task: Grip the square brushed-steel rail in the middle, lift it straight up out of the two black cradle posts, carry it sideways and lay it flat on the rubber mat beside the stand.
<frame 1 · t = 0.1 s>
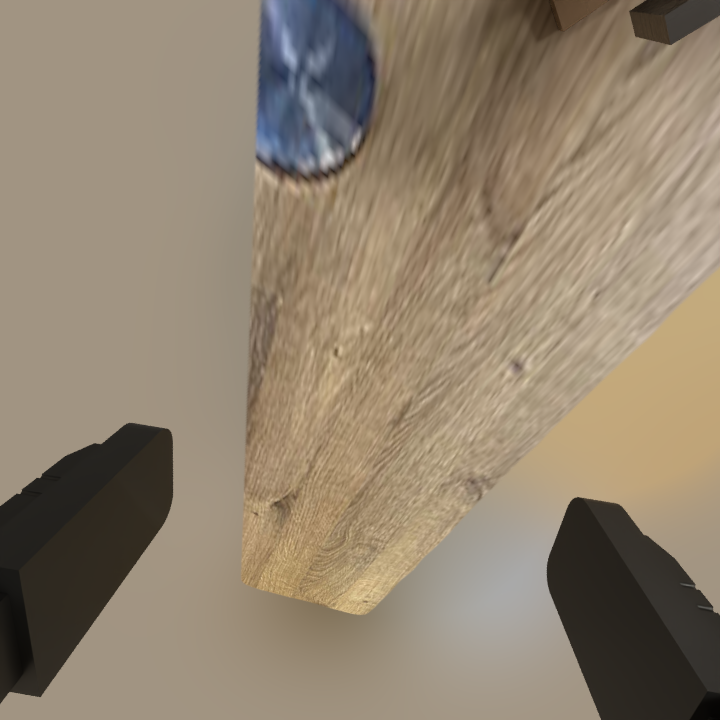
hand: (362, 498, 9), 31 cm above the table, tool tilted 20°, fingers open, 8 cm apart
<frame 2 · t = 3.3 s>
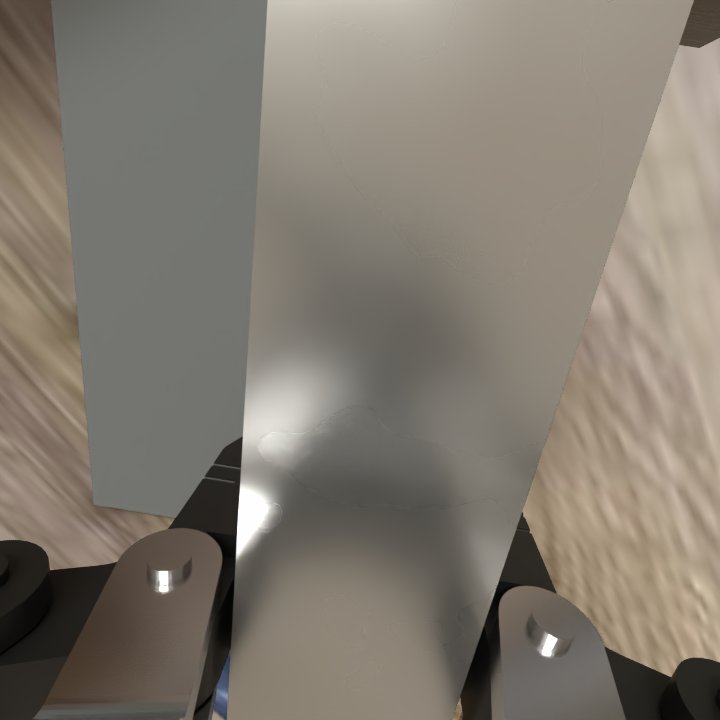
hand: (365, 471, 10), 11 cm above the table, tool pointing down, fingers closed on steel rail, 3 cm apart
steel rail: (361, 512, 8), point 12 cm above the table, touching cradle stand, gripper
rubber mat: (175, 301, 20), on the table
cradle stand: (379, 333, 20), on the table
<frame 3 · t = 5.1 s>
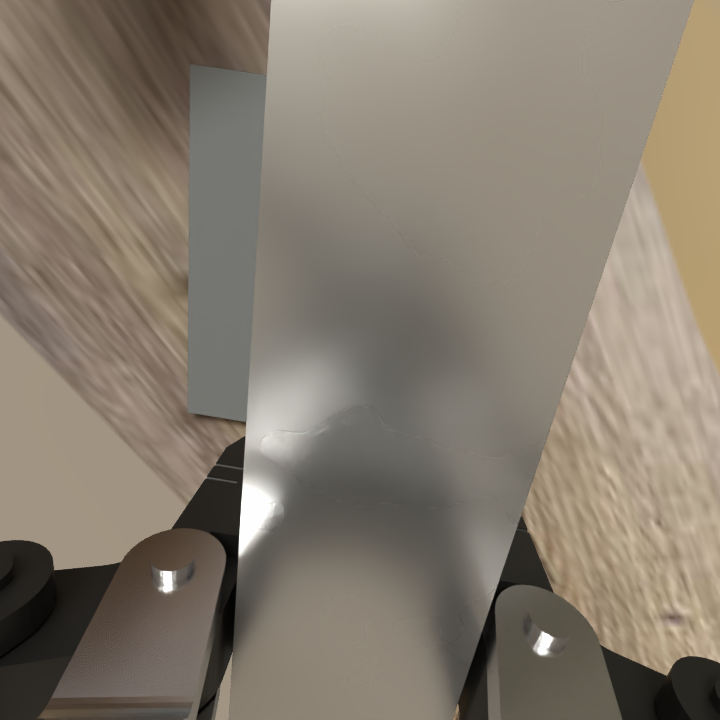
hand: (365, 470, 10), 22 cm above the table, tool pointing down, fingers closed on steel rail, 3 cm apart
steel rail: (362, 511, 8), point 23 cm above the table, touching gripper
rubber mat: (251, 268, 30), on the table
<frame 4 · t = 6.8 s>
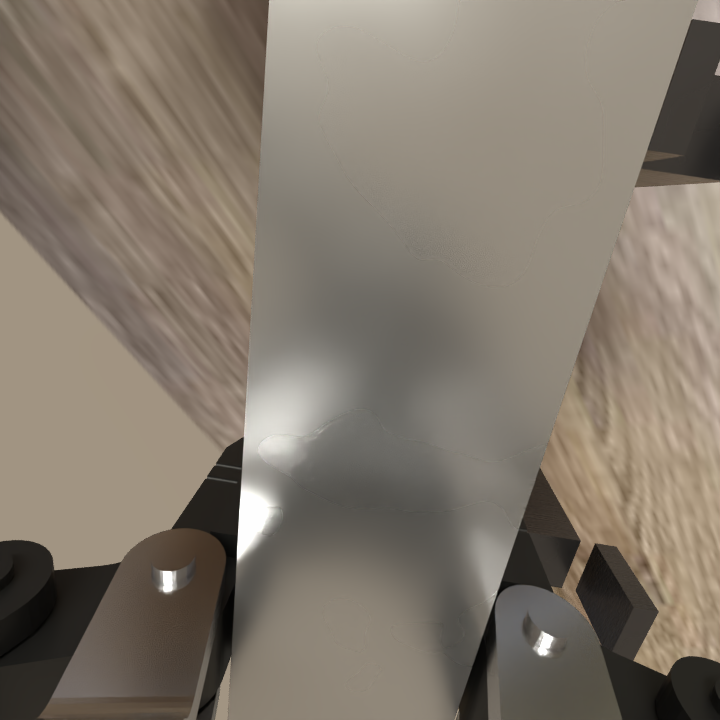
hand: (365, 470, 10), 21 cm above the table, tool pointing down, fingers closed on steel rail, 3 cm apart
steel rail: (362, 514, 8), point 23 cm above the table, touching gripper
cradle stand: (522, 312, 29), on the table
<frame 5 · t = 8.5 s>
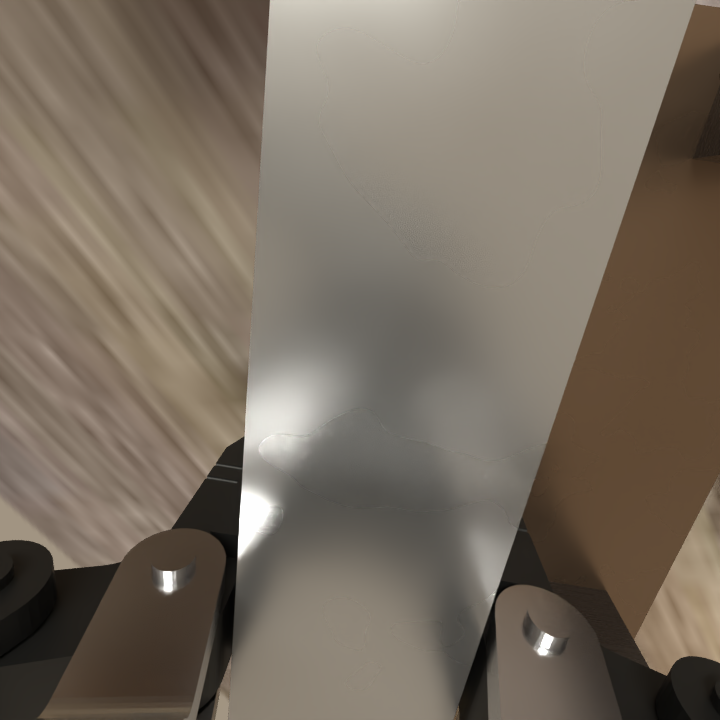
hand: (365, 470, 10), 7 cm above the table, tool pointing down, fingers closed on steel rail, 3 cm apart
steel rail: (362, 513, 8), point 9 cm above the table, touching gripper
cradle stand: (624, 399, 16), on the table
when the fingers open (2 cm above the table, at t = 9.8 s): steel rail drops 2 cm, resting on rubber mat.
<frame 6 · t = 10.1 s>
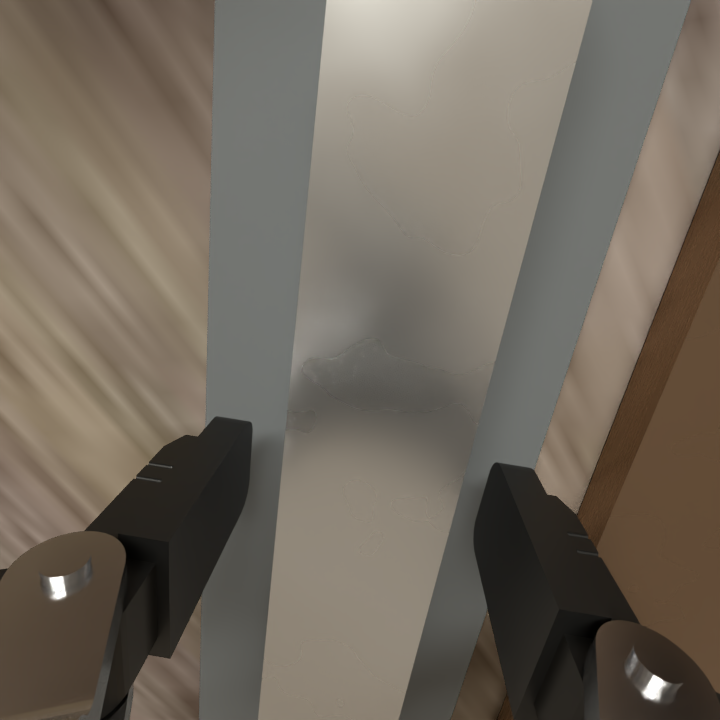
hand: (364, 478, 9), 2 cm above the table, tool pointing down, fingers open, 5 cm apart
steel rail: (368, 449, 11), point 1 cm above the table, touching rubber mat
rubber mat: (369, 428, 11), on the table
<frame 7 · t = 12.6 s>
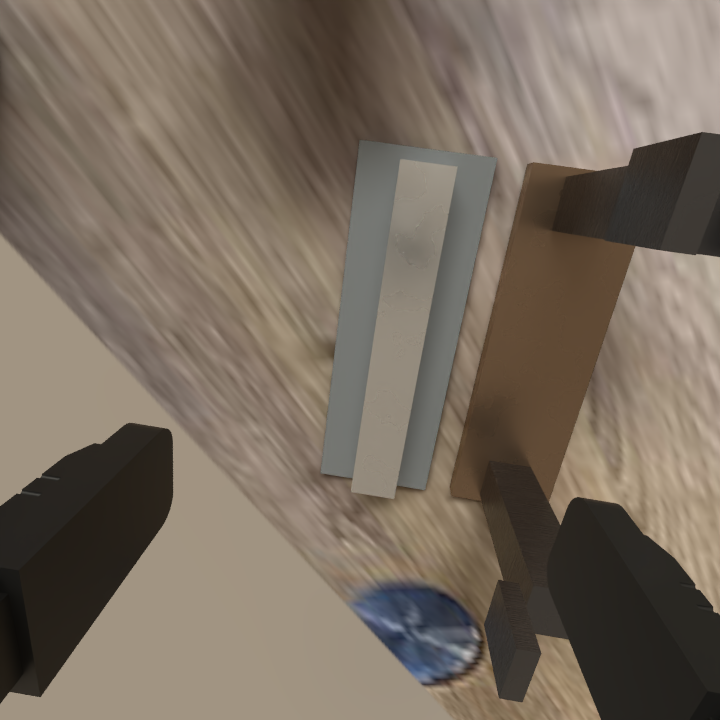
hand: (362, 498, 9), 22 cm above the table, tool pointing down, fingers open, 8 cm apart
steel rail: (397, 337, 29), point 1 cm above the table, touching rubber mat
rubber mat: (396, 333, 30), on the table
cradle stand: (534, 354, 30), on the table
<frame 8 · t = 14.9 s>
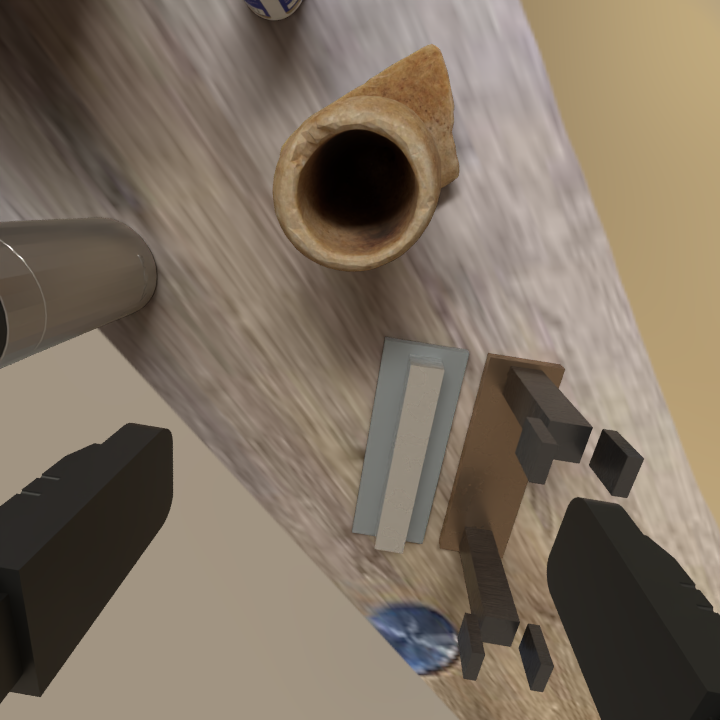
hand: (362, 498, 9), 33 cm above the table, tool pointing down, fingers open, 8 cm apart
steel rail: (405, 450, 45), point 1 cm above the table, touching rubber mat
stone cup: (378, 170, 37), on the table
rubber mat: (405, 445, 46), on the table
cradle stand: (494, 460, 46), on the table
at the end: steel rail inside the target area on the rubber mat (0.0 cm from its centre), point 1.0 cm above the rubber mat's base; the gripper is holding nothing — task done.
